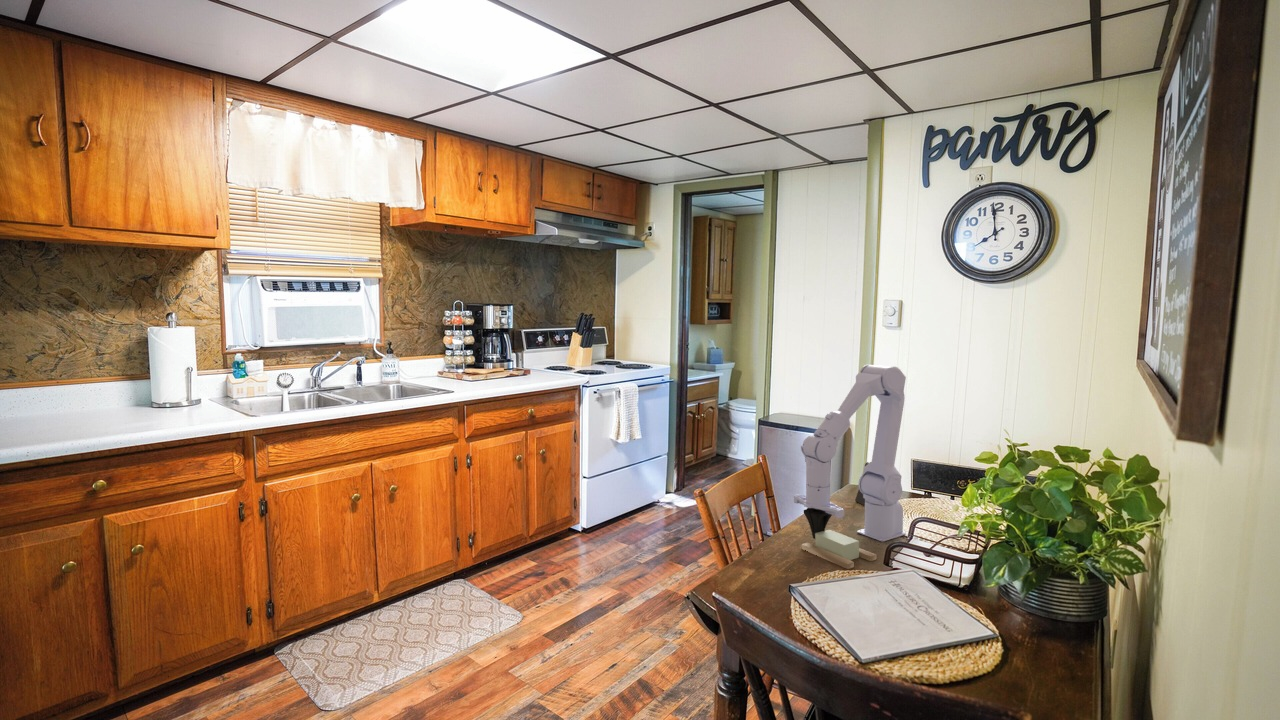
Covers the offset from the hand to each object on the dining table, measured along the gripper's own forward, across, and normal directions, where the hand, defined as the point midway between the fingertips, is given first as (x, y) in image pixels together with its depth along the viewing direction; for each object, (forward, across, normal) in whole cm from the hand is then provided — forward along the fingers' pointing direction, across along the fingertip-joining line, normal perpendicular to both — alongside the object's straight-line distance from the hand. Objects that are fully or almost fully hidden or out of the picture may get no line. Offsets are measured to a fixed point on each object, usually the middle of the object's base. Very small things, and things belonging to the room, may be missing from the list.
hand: (817, 538), depth 148 cm
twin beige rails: (+2, +6, 0) cm, 7 cm away
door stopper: (+2, -15, +40) cm, 43 cm away
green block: (+2, +6, 0) cm, 6 cm away
